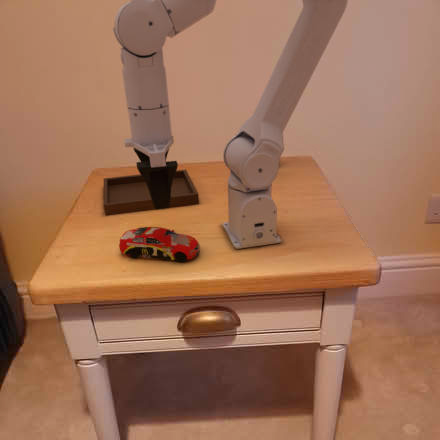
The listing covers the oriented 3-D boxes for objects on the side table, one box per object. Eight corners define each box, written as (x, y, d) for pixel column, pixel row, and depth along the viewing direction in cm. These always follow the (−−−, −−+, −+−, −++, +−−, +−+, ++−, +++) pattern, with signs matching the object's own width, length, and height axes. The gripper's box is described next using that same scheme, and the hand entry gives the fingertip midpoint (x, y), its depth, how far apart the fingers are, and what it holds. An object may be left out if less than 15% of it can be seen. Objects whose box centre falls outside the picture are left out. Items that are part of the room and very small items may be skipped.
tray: (199, 203, 85) (198, 193, 84) (105, 215, 82) (103, 205, 81) (186, 178, 98) (186, 169, 97) (105, 187, 95) (103, 178, 94)
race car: (204, 248, 70) (202, 226, 68) (194, 265, 66) (193, 242, 63) (130, 241, 73) (126, 220, 71) (117, 257, 69) (112, 235, 66)
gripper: (117, 98, 64) (131, 185, 71) (120, 119, 52) (136, 220, 60) (164, 94, 65) (173, 180, 73) (177, 114, 53) (185, 214, 61)
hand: (159, 198), depth 66 cm, fingers open, 7 cm apart
